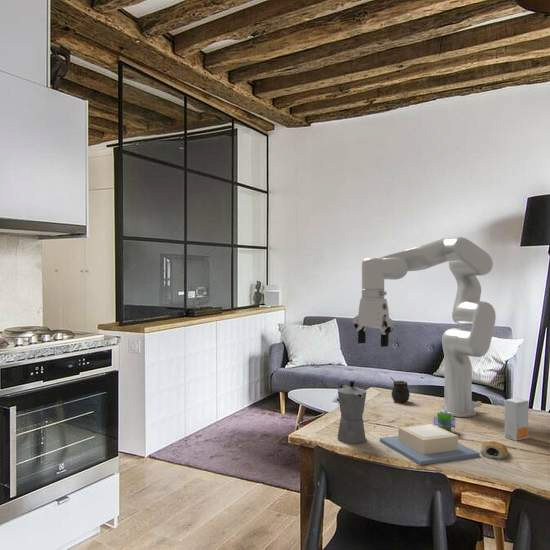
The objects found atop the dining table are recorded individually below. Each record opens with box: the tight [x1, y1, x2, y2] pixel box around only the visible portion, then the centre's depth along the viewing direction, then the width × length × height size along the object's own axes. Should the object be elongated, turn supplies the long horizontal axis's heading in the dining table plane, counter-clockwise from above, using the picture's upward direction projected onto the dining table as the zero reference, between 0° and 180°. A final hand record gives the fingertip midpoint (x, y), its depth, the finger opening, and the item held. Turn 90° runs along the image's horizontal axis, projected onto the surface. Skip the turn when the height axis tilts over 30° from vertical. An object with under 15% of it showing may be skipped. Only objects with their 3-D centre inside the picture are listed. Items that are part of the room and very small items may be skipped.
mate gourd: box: [390, 377, 410, 404], centre depth 196 cm, size 7×8×10 cm
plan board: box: [379, 423, 481, 466], centre depth 142 cm, size 20×20×5 cm
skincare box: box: [504, 397, 529, 442], centre depth 152 cm, size 6×4×12 cm
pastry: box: [479, 440, 509, 460], centre depth 138 cm, size 9×7×4 cm
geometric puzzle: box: [432, 411, 456, 433], centre depth 157 cm, size 7×7×8 cm
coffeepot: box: [337, 380, 367, 444], centre depth 151 cm, size 15×9×18 cm, turn 16°
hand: (372, 344), depth 163 cm, fingers open, 9 cm apart
